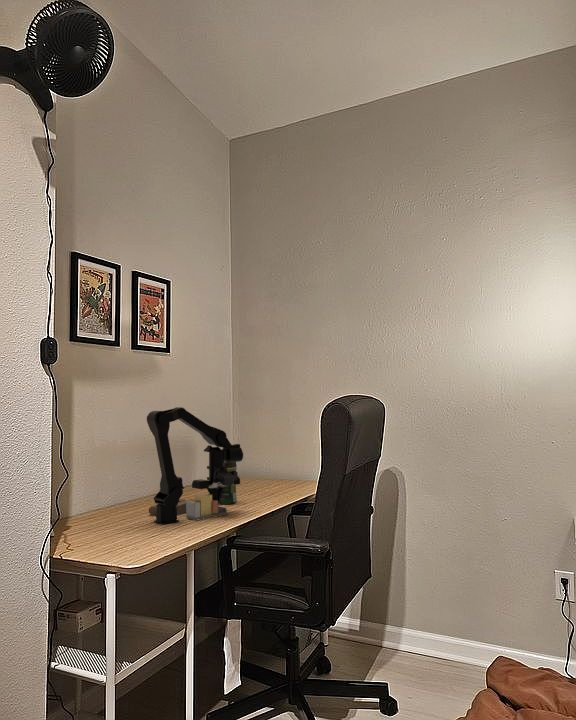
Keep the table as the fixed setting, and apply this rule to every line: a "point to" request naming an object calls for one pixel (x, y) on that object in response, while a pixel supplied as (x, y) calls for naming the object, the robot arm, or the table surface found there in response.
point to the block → (204, 503)
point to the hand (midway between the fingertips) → (216, 505)
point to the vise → (194, 511)
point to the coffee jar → (229, 487)
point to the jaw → (214, 506)
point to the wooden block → (180, 507)
